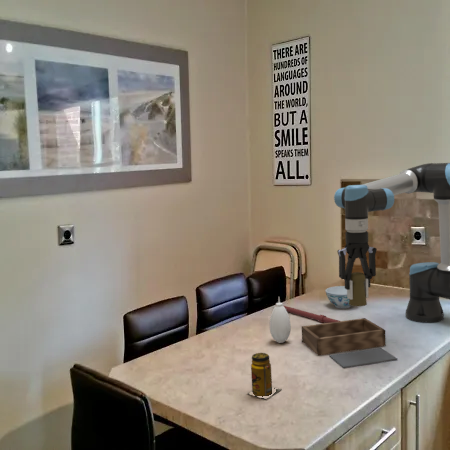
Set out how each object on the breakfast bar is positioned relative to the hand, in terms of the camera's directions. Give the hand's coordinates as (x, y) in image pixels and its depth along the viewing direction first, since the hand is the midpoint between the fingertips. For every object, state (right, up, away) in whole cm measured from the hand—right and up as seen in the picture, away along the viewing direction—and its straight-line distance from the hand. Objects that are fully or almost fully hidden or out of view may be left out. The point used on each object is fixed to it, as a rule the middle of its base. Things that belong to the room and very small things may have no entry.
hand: (357, 297), depth 185 cm
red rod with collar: (-8, -16, +46) cm, 50 cm away
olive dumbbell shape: (0, -2, 0) cm, 2 cm away
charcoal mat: (+2, -21, +1) cm, 21 cm away
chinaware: (+8, -13, +63) cm, 65 cm away
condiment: (-34, -26, -21) cm, 48 cm away
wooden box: (-2, -19, +16) cm, 25 cm away
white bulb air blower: (-24, -20, +21) cm, 38 cm away
